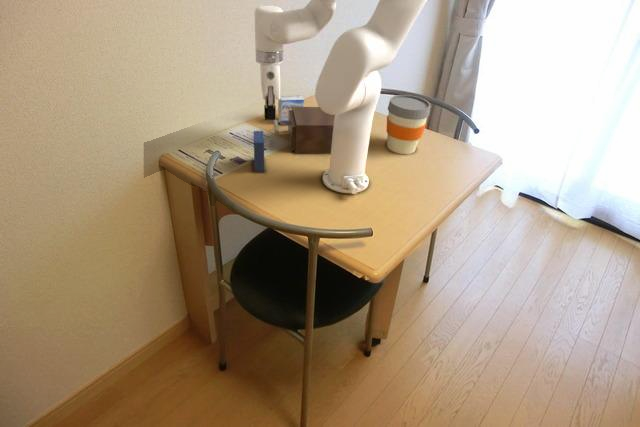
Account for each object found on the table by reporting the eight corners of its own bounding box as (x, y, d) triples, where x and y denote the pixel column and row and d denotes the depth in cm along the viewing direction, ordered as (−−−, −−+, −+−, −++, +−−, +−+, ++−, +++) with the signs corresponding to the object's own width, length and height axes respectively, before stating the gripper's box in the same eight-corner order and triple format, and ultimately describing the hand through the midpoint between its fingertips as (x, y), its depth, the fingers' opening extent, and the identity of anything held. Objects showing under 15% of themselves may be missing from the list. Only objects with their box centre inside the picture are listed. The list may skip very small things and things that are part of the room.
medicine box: (280, 125, 148) (280, 100, 142) (277, 119, 151) (278, 95, 146) (303, 124, 150) (304, 99, 145) (300, 118, 153) (301, 94, 148)
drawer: (274, 150, 131) (275, 126, 127) (272, 131, 141) (272, 109, 137) (348, 150, 135) (351, 127, 130) (341, 132, 145) (343, 110, 140)
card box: (254, 172, 122) (254, 142, 117) (254, 159, 127) (253, 130, 122) (264, 172, 122) (264, 142, 117) (263, 159, 128) (263, 131, 123)
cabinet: (295, 153, 132) (296, 125, 127) (291, 133, 143) (292, 106, 138) (356, 153, 135) (359, 125, 130) (347, 133, 146) (350, 107, 141)
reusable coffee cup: (400, 160, 134) (410, 113, 125) (373, 143, 141) (380, 98, 133) (429, 151, 140) (440, 106, 131) (401, 135, 148) (409, 92, 139)
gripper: (285, 64, 116) (284, 129, 126) (281, 48, 128) (281, 109, 138) (256, 63, 114) (257, 129, 125) (255, 48, 127) (256, 109, 137)
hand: (270, 118), depth 131 cm, fingers closed
